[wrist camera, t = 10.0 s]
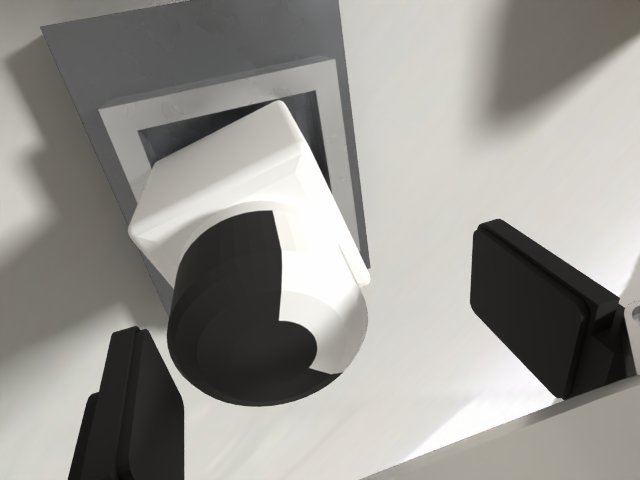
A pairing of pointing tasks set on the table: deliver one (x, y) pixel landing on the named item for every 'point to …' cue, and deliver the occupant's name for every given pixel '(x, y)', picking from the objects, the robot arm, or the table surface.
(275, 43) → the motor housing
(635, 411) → the robot arm
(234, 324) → the medicine bottle
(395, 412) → the table surface
